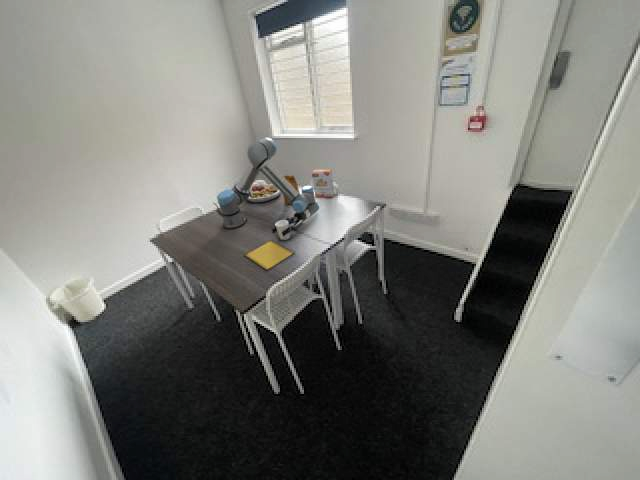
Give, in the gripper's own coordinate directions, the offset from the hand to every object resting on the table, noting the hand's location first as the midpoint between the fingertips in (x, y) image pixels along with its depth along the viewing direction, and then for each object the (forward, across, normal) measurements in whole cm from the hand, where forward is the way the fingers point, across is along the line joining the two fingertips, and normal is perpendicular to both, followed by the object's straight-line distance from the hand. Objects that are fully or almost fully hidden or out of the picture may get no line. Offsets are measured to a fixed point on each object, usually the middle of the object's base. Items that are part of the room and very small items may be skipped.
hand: (277, 232), depth 154 cm
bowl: (-48, +64, -6) cm, 80 cm away
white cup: (-5, 0, -6) cm, 8 cm away
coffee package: (-47, +29, -6) cm, 55 cm away
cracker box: (-65, +12, -6) cm, 66 cm away
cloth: (+13, -4, -6) cm, 15 cm away
